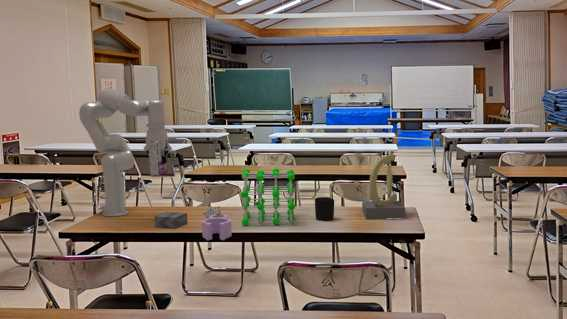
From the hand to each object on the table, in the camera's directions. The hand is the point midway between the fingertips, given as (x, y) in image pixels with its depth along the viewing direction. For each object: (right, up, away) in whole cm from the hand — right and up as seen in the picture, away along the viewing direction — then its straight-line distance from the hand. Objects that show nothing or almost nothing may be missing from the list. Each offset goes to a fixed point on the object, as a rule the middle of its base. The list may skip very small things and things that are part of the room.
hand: (158, 163), depth 295 cm
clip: (+31, -31, -27) cm, 52 cm away
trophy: (+109, -26, +8) cm, 113 cm away
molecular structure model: (+53, -27, 0) cm, 60 cm away
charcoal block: (+8, -29, -7) cm, 31 cm away
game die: (+27, -28, -4) cm, 39 cm away
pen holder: (+80, -27, +1) cm, 84 cm away
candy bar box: (0, -5, +1) cm, 5 cm away
